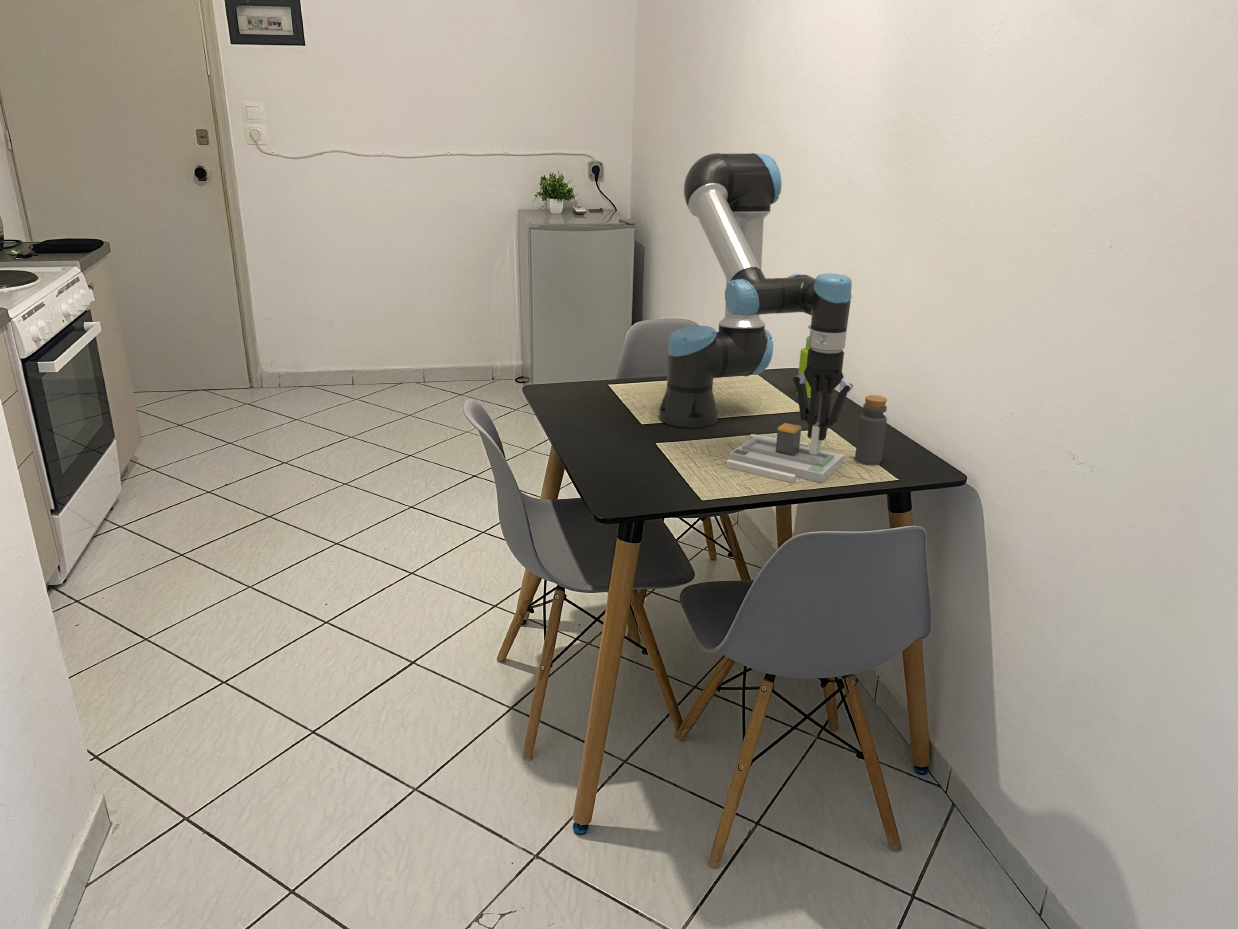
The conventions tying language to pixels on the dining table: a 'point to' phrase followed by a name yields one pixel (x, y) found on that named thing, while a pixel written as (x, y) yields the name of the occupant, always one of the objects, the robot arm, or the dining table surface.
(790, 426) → the knob
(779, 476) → the light grey long bar
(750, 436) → the light grey thin bar
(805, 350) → the soap dispenser
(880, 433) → the bottle
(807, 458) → the panel
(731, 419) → the dining table surface
